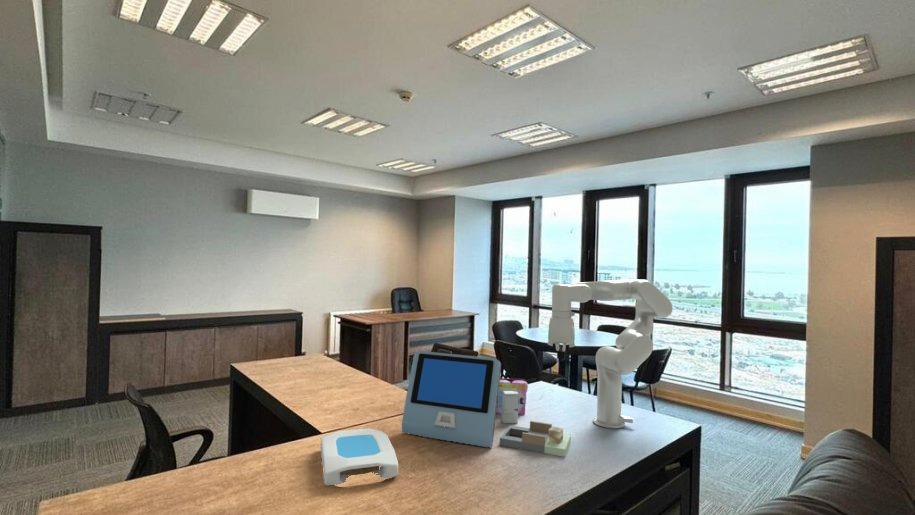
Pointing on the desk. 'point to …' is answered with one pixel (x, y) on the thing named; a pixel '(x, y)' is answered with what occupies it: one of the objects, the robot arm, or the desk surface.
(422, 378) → the touchscreen device
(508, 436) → the board
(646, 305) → the robot arm
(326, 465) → the white step stool
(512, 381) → the gum box
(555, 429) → the birch block
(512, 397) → the skincare box
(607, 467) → the desk surface
